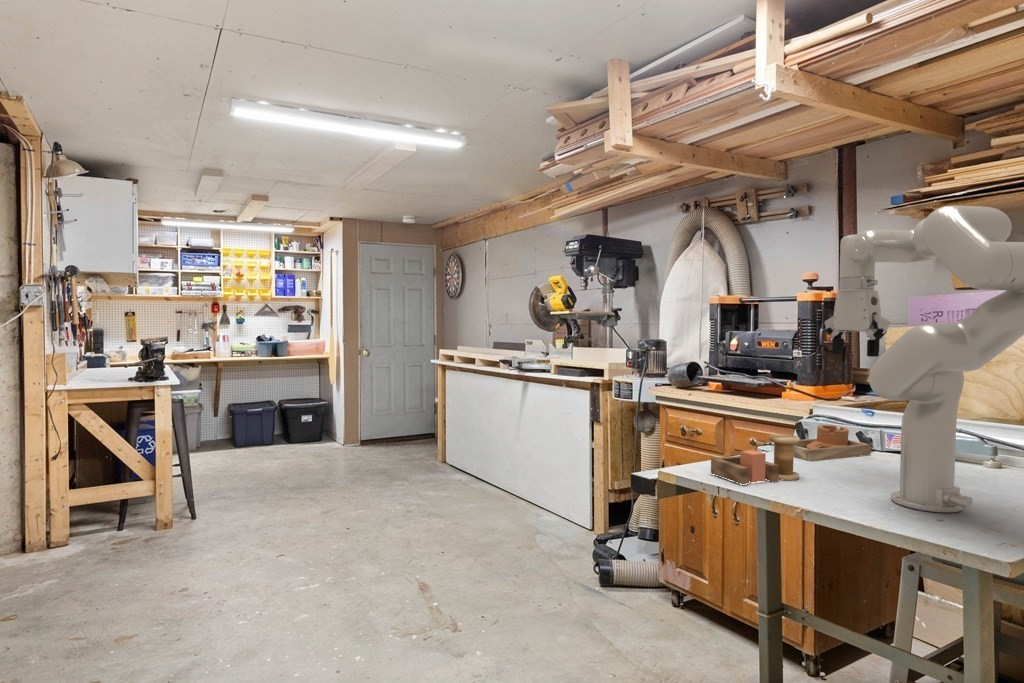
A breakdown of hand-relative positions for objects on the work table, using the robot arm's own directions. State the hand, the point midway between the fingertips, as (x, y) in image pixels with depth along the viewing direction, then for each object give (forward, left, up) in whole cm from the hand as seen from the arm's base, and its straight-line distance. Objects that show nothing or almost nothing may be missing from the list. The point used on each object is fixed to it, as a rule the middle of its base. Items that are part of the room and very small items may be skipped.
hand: (854, 355), depth 151 cm
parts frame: (+23, -16, -30) cm, 41 cm away
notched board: (+8, +26, -30) cm, 41 cm away
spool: (+6, +16, -30) cm, 35 cm away
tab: (+6, +26, -30) cm, 40 cm away
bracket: (+23, -18, -31) cm, 43 cm away
